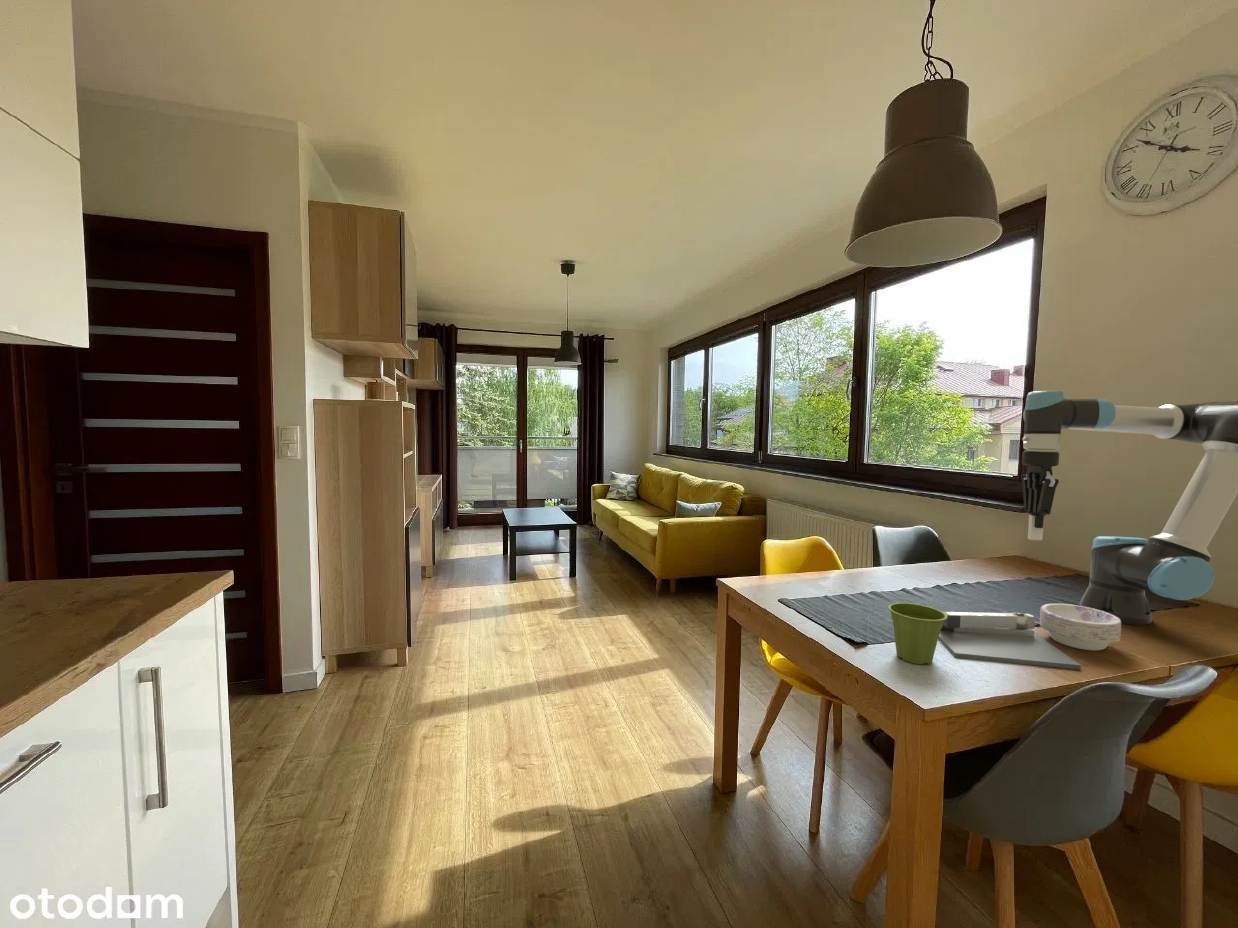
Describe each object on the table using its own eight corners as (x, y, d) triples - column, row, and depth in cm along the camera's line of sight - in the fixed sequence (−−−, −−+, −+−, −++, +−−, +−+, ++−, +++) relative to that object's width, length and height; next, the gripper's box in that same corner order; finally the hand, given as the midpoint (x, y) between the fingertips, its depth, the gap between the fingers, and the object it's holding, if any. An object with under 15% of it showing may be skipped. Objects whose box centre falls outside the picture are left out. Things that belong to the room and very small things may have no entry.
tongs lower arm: (1027, 632, 135) (1028, 626, 135) (1034, 637, 132) (1035, 630, 132) (935, 626, 138) (935, 620, 138) (940, 630, 135) (940, 624, 135)
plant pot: (954, 672, 114) (957, 622, 114) (895, 667, 117) (898, 617, 116) (931, 649, 126) (934, 604, 125) (879, 645, 128) (881, 600, 127)
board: (1029, 633, 137) (1030, 629, 137) (1080, 669, 117) (1080, 665, 116) (924, 624, 143) (924, 620, 142) (955, 657, 122) (955, 652, 122)
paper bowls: (1024, 636, 135) (1027, 606, 135) (1060, 628, 141) (1063, 599, 140) (1096, 660, 121) (1099, 627, 121) (1133, 651, 127) (1136, 619, 126)
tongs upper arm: (1025, 624, 136) (1026, 611, 135) (1036, 630, 132) (1037, 616, 132) (939, 622, 136) (940, 609, 136) (947, 628, 132) (948, 614, 132)
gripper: (1011, 449, 144) (1006, 533, 146) (1038, 451, 131) (1032, 544, 133) (1043, 449, 142) (1037, 535, 144) (1073, 451, 130) (1066, 545, 131)
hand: (1034, 539), depth 139 cm, fingers closed
